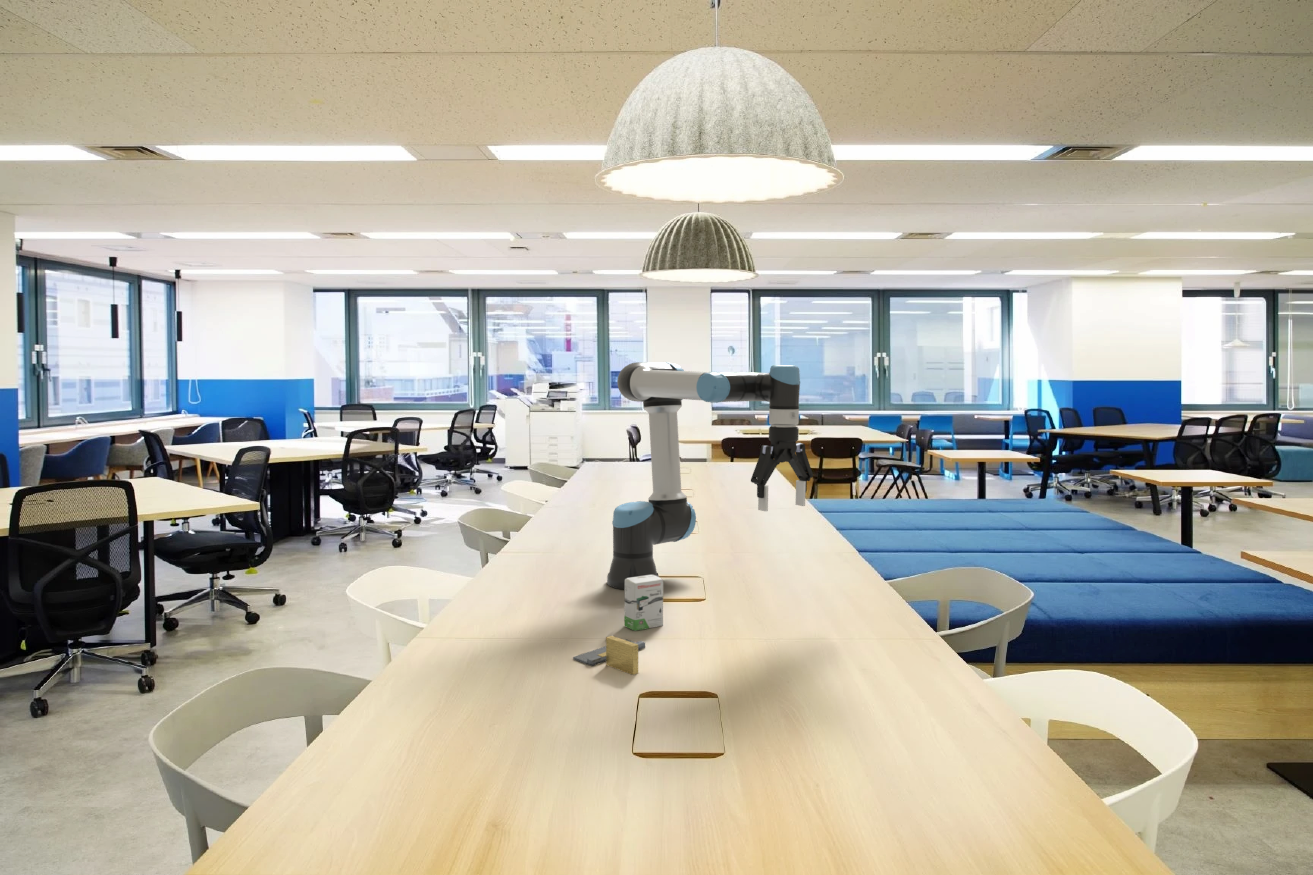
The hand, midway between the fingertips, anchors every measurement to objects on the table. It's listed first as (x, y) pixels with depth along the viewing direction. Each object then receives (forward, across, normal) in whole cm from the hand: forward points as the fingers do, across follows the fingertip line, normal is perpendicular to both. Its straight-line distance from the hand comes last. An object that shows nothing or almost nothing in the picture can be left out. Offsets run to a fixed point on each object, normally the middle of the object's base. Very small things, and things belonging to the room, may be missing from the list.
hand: (781, 508), depth 207 cm
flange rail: (+27, -53, -6) cm, 60 cm away
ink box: (+27, -36, +10) cm, 46 cm away
